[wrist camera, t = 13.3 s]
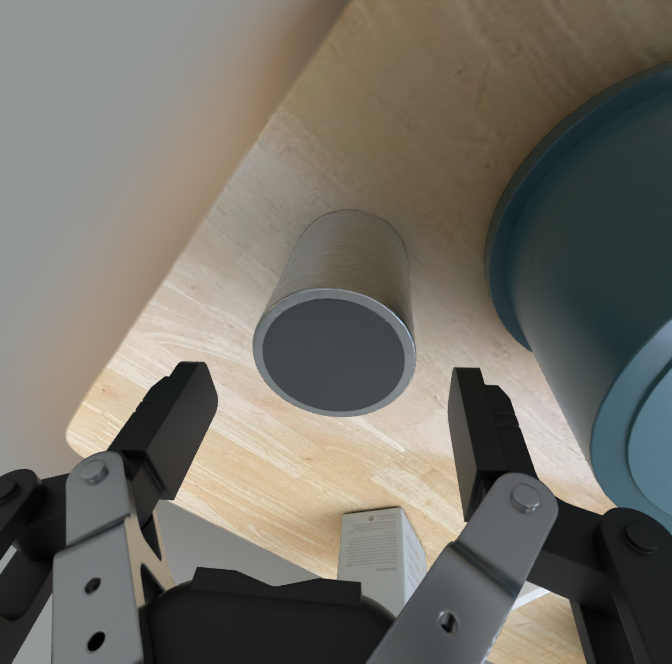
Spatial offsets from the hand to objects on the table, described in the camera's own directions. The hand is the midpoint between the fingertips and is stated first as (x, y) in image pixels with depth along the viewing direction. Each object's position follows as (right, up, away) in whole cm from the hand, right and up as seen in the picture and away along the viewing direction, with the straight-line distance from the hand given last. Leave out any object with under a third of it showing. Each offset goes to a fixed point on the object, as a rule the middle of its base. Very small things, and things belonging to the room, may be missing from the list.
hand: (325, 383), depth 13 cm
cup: (+1, +5, +8) cm, 10 cm away
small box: (+5, -17, +23) cm, 29 cm away
